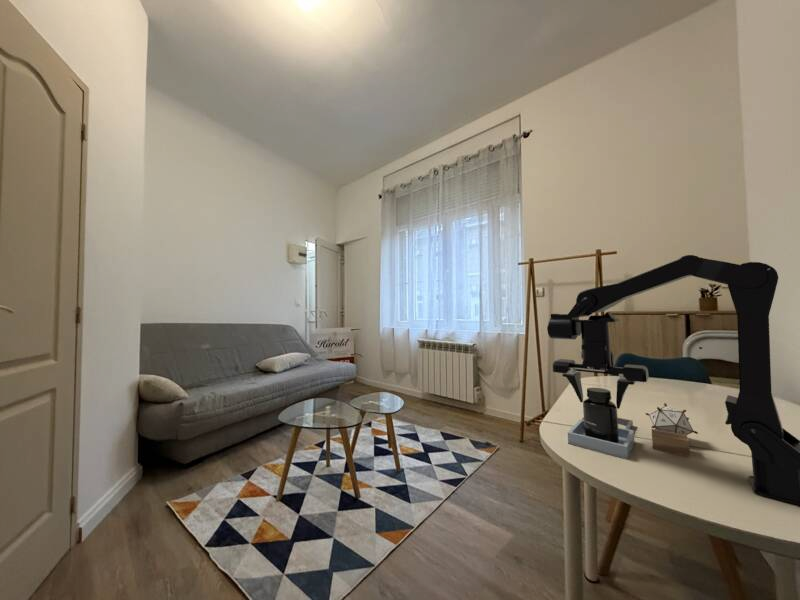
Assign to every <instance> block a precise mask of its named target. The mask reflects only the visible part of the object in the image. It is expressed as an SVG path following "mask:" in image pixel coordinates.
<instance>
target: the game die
mask: <svg viewBox="0 0 800 600" xmlns="http://www.w3.org/2000/svg"><path fill="white" fill-rule="evenodd" d="M656 407H657V408H656V409H657V410H655V411H653V412H651V413H650V414H649V413H648V412H646V413H645V415H646V416H649V420H650V421H651V423H652V425H651V429H656V430H662V431H667V432H673V433H679V434H684V435H687V436H688V435H690V434H693V433H694V434H696V435H697V434H699V432H698V431H696V430H694V429H693V427H692V425H691V423H690V421H689V420H690V418H689V417H687V416H686V414H685V413H686V412H687V409H683V410H682V411H681V410H679V409H676V408H673V407H669V406H668V404H667V403H665V402H664V403H663V407H660V406H656Z"/></svg>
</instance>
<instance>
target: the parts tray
mask: <svg viewBox="0 0 800 600" xmlns="http://www.w3.org/2000/svg"><path fill="white" fill-rule="evenodd" d="M618 433H619V442H618V443H614V442H609V441H605V440H601V439H597V438H593V437H589V436H585V430H584V420H581V419H579V420H578V421H577V422H576V423H575V424H574V425H573V426H572V428H570V429H569V430H568V431H567V444H568V445H573V446H576V447H580V448H584V449H587V450H591V451H595V452H599V453H602V454H606V455H610V456H614V457H617V458H622V459H625V460H628V459H629V457H630V456H631V452H632V450H633V447H634V445H635V440H636V439H635V430H633V429H631V430H628V429H626V428H622V427H619V426H618Z"/></svg>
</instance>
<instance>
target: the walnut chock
mask: <svg viewBox="0 0 800 600" xmlns="http://www.w3.org/2000/svg"><path fill="white" fill-rule="evenodd" d="M651 440H652V441H651V442H652V449H653V450H655V451H660V452H664V453H670V454H674V455H678V456H684V457H688V458H691V451H690V449H691V448H690V440H689V438H688V435H684V434H679V433H673V432H667V431H662V430H656V429H655V428H651Z"/></svg>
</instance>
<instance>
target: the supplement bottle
mask: <svg viewBox="0 0 800 600" xmlns="http://www.w3.org/2000/svg"><path fill="white" fill-rule="evenodd" d="M586 397H587V398H586V399H583V402H582V412H583V417H584V430H585V436H589V437H593V438H597V439H601V440H605V441H609V442H614V443H618V442H619V433H618V427H619V424H618V418H619V417H618V409H617V405H616V403H614V402H613V401H612V394H611V390H610V389H608V388H607V389H606V388H603V387H587V388H586Z"/></svg>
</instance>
